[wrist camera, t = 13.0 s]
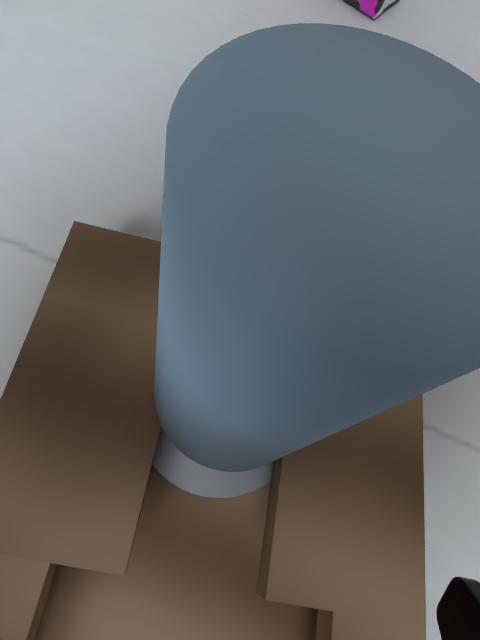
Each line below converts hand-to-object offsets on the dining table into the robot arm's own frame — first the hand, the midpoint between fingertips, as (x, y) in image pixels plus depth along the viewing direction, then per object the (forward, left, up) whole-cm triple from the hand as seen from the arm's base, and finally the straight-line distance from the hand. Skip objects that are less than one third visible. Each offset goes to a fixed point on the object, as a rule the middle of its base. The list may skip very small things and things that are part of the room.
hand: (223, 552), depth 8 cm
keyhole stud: (+4, -2, -7) cm, 8 cm away
